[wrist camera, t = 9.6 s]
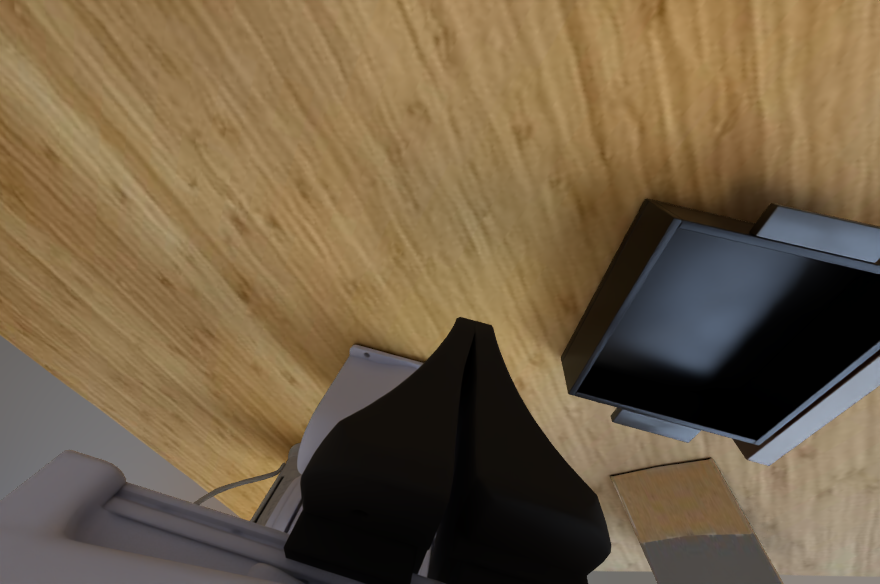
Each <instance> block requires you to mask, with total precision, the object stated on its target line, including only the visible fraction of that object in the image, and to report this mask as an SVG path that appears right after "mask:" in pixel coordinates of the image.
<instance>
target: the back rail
mask: <svg viewBox="0 0 880 584" xmlns="http://www.w3.org/2000/svg"><path fill="white" fill-rule="evenodd" d="M879 385H880V350H878V351H877V352H876V353H874V354H873V355H872V356H871V357H869V358H868V359H867V360H866V361H864V362H863V363H862V364H861V365H859V366H858V367H857V368H856V369H854V370H853V371H852V372H851V373H849V374H848V375H847V376H846V377H844V378H843V379H842V380H841V381H839V382H838V383H837V384H836V385H834V386H833V387H832V388H831V389H829V390H828V391H827V392H826V393H824V394H823V395H822V396H820V397H819V398H818V399H817V400H815V401H814V402H813V403H812V404H810V405H809V406H808V407H807V408H805V409H804V410H803V411H802V412H800V413H799V414H798V415H797V416H795V417H794V418H793V419H792V420H790V421H789V422H788V423H787V424H785V425H784V426H783V427H782V428H780V429H779V430H778V431H777V432H775V433H774V434H773V435H771V436H770V437H769V438H768V439H766V440H765V441H764V442H763V443H761V444H760V445H755V444H751V443H747V442H744V441H740V440H736V439H733V438H732V439H733V440H734V442H735V443H736V445H737V446H738V448H739V449H740V451H741V452H742V454H743V455H744V457H745V458H746V459H747V460H749V461H753V462H757V463H760V464H764V465H767V466H770V465H771V464H772V463H774V462H775V461H776V460H778V459H779V458H781V457H782V456H783V455H785V454H786V453H787V452H789V451H790V450H792V449H793V448H794V447H796V446H797V445H798V444H800V443H801V442H803V441H804V440H805V439H807V438H808V437H809V436H811V435H812V434H814V433H815V432H816V431H818V430H819V429H820V428H822V427H823V426H825V425H826V424H827V423H829V422H830V421H831V420H833V419H834V418H835V417H837V416H838V415H840V414H841V413H842V412H844V411H845V410H846V409H848V408H849V407H851V406H852V405H853V404H855V403H856V402H857V401H859V400H860V399H862V398H863V397H864V396H866V395H867V394H868V393H870V392H871V391H873V390H874V389H875V388H877V387H878V386H879Z"/></svg>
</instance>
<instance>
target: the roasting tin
mask: <svg viewBox="0 0 880 584" xmlns="http://www.w3.org/2000/svg"><path fill="white" fill-rule="evenodd" d="M878 350H880V226H875V225H871V224H866V223H862V222H857V221H853V220H848V219H844V218H839V217H835V216H830V215H826V214H821V213H817V212H812V211H808V210H803V209H799V208H794V207H790V206H785V205H781V204H776V203H770V205H769V206H768V207H767V209H766V210H765V211H764V213H763V214H762V215H761V217H760V218H759V219H758V221H757V222H756V223H752V222H748V221H743V220H739V219H734V218H730V217H726V216H721V215H717V214H712V213H708V212H704V211H699V210H695V209H690V208H686V207H681V206H677V205H673V204H668V203H664V202H659V201H655V200H651V199H645V201H644V202H643V204H642V206H641V208H640V210H639V212H638V214H637V216H636V217H635V219H634V221H633V223H632V225H631V227H630V229H629V231H628V233H627V234H626V236H625V238H624V240H623V242H622V244H621V246H620V248H619V249H618V251H617V253H616V255H615V257H614V259H613V261H612V263H611V265H610V266H609V268H608V270H607V272H606V274H605V276H604V278H603V280H602V281H601V283H600V285H599V287H598V289H597V291H596V293H595V295H594V296H593V298H592V300H591V302H590V304H589V306H588V308H587V310H586V312H585V313H584V315H583V317H582V319H581V321H580V323H579V325H578V327H577V328H576V330H575V332H574V334H573V336H572V338H571V340H570V342H569V344H568V345H567V347H566V349H565V351H564V353H563V355H562V357H561V361H562V365H563V370H564V375H565V380H566V385H567V390H568V394H570V395H575V396H577V397H581V398H585V399H588V400H592V401H596V402H599V403H603V404H607V405H611V406H614V407H617V408H616V410H615V411H614V412H613V414H612V415H611V419H612V422H614V423H618V424H622V425H625V426H629V427H633V428H636V429H640V430H644V431H647V432H651V433H654V434H658V435H662V436H665V437H669V438H673V439H676V440H680V441H684V442H687V443H688V442H690V441H691V440H692V439H693V438H694V437H695V436H696V435H697V434H698V433H699V432H700V431H701V430H703V431H707V432H710V433H714V434H718V435H722V436H725V437H729V438H733V439H736V440H740V441H744V442H747V443H751V444H755V445H760V444H761V443H763V442H764V441H765V440H766V439H768V438H769V437H770V436H771V435H773V434H774V433H775V432H777V431H778V430H779V429H780V428H782V427H783V426H784V425H785V424H787V423H788V422H789V421H790V420H792V419H793V418H794V417H795V416H797V415H798V414H799V413H800V412H802V411H803V410H804V409H805V408H807V407H808V406H809V405H810V404H812V403H813V402H814V401H815V400H817V399H818V398H819V397H820V396H822V395H823V394H824V393H826V392H827V391H828V390H829V389H831V388H832V387H833V386H834V385H836V384H837V383H838V382H839V381H841V380H842V379H843V378H844V377H846V376H847V375H848V374H849V373H851V372H852V371H853V370H854V369H856V368H857V367H858V366H859V365H861V364H862V363H863V362H864V361H866V360H867V359H868V358H869V357H871V356H872V355H873V354H874V353H876V352H877V351H878Z"/></svg>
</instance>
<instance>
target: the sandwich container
mask: <svg viewBox="0 0 880 584" xmlns="http://www.w3.org/2000/svg"><path fill="white" fill-rule="evenodd" d="M610 478H611V480H612V482H613V484H614V486H615V489H616V491H617V493H618V495H619V498H620V500H621V502H622V504H623V507H624V509H625V511H626V513H627V516H628V518H629V520H630V522H631V525H632V527H633V529H634V531H635V534H636V536H637V538H638V540H639V543H640V545H641V547H642V549H643V552H644V554H645V556H646V558H647V561H648V563H649V565H650V567H651V570H652V572H653V574H654V576H655V579H656V581H657V583H658V584H783V582H782V580H781V578H780V577H779V575H778V573H777V571H776V569H775V568H774V566H773V564H772V563H771V561H770V559H769V557H768V556H767V554H766V552H765V550H764V549H763V547H762V545H761V543H760V542H759V540H758V538H757V536H756V535H755V533H754V531H753V529H752V528H751V526H750V524H749V522H748V521H747V519H746V517H745V515H744V514H743V512H742V510H741V508H740V507H739V505H738V503H737V501H736V499H735V498H734V496H733V494H732V492H731V490H730V489H729V487H728V485H727V483H726V482H725V480H724V478H723V476H722V474H721V473H720V471H719V469H718V467H717V466H716V464H715V462H714V460H713V459H712V458H711V459H709V460H702V461H696V462H689V463H682V464H675V465H668V466H661V467H655V468H650V469H646V470H641V471H636V472H631V473H627V474H622V475H617V476H610Z"/></svg>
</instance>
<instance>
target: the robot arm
mask: <svg viewBox="0 0 880 584" xmlns="http://www.w3.org/2000/svg"><path fill="white" fill-rule="evenodd" d="M367 353H368V354H367ZM297 469H298V472H299V473H300V474H302V475H301V476H299V477H297V478H295V479H294V480H293V481H292V483H291V484H290V485H289V487H288V488H287V490H286V491H285V493H284V494H283V496H282V497H281V499H280V501H279V502H278V504H277V506H276V507H275V509H274V511H273V512H272V514H271V516H270V518H269V519H268V521H267V523H266V525H265V526H263V525H260V524H257V523H254V522H251V521H247V520H244V519H241V518H238V517H235V516H232V515H229V514H225V513H222V512H219V511H216V510H213V509H210V508H206V507H203V506H200V505H197V504H194V503H191V502H188V501H184V500H181V499H178V498H175V497H172V496H169V495H166V494H162V493H159V492H156V491H153V490H150V489H147V488H143V487H140V486H137V485H134V484H131V483H128V482H126V478H125V476H124V474H123V473H122V471H121V470H120V469H119V468H117V467H116V466H115V465H113V464H112V463H109V462H107V461H104V460H101V459H98V458H95V457H91V456H89V455H85V454H82V453H79V452H76V451H73V450H66V451H64V452H62V453H61V454H60V455H58V456H57V457H56V458H55V459H53V460H52V461H51V462H50V463H48V464H47V465H46V466H44V467H43V468H42V469H41V470H39V471H38V472H37V473H35V474H34V475H33V476H32V477H30V478H29V479H28V480H26V481H25V482H24V483H23V484H21V485H20V486H19V487H17V488H16V489H15V490H14V491H12V492H11V493H10V494H8V495H7V496H6V497H5V498H3V499H2V500H1V501H0V584H588V580H587V575H588V574H589V573H590V572H592V571H593V570H594V569H595V568H597V567H598V566H599V565H600V564H601V563H603V562H604V560H605V559H606V558H607V557H608V555H609V554H610V553H611V542H610V537H609V533H608V529H607V525H606V521H605V518H604V514H603V511H602V509H601V506H600V503H599V500H598V496H597V495H596V494H595V493H594V492H593V490H592V489H591V488H590V487H589V486H588V485H587V484H586V483H585V482H584V481H583V480H582V479H581V477H580V476H579V475H578V474H577V473H576V472H575V471H574V470H573V469H572V468H571V467H570V465H569V464H568V463H567V462H566V461H565V460H564V458H563V457H562V456H561V455H560V453H559V452H558V451H557V450H556V449H555V447H554V446H553V445H552V444H551V442H550V441H549V439H548V438H547V437H546V435H545V434H544V433H543V431H542V430H541V428H540V427H539V426H538V424H537V423H536V421H535V420H534V418H533V417H532V415H531V414H530V412H529V410H528V409H527V407H526V405H525V404H524V402H523V400H522V398H521V397H520V395H519V393H518V391H517V389H516V387H515V385H514V383H513V381H512V379H511V377H510V374H509V372H508V370H507V368H506V365H505V363H504V360H503V358H502V355H501V352H500V350H499V347H498V344H497V340H496V337H495V333H494V329H493V327H492V325H489V324H485V323H481V322H478V321H474V320H470V319H466V318H462V317H459V318H457V319H456V322H455V324H454V326H453V328H452V329H451V331H450V333H449V334H448V335H447V337H446V338H445V339H444V341H443V342H442V343H441V345H440V346H439V347H438V348H437V350H436V351H435V352H434V353H433V354H432V355H431V356H430V357H429V358H428V359H427V360H426V361H425V362H424V363H422V362H418V361H414V360H411V359H407V358H403V357H400V356H396V355H392V354H389V353H385V352H381V351H378V350H374V349H370V348H367V347H363V346H359V345H353V346H352V347H351V348H350V356H349V357H348V359H347V360H346V362H345V364H344V365H343V367H342V368H341V370H340V371H339V373H338V375H337V376H336V378H335V379H334V381H333V382H332V384H331V386H330V387H329V389H328V390H327V392H326V394H325V395H324V397H323V398H322V400H321V401H320V403H319V405H318V406H317V408H316V409H315V411H314V413H313V415H312V417H311V419H310V421H309V423H308V425H307V428H306V430H305V433H304V435H303V438H302V441H301V444H300V448H299V452H298V458H297Z"/></svg>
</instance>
